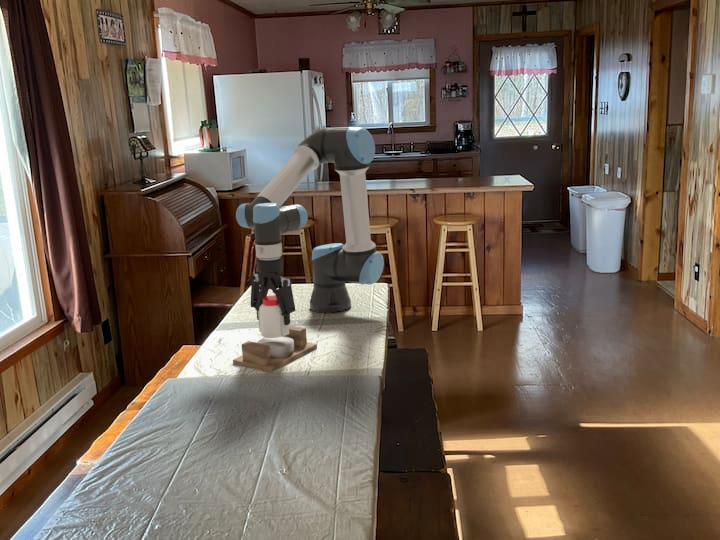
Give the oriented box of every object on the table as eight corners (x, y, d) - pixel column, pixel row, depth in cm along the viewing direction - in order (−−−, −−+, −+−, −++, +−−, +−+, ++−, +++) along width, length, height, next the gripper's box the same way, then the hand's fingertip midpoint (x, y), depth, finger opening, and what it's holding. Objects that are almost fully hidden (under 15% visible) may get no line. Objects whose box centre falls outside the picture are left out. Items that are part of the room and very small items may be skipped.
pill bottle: (289, 329, 204) (287, 294, 202) (284, 338, 197) (282, 301, 194) (264, 329, 205) (262, 294, 202) (258, 338, 198) (255, 301, 195)
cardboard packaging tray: (281, 340, 215) (280, 322, 214) (316, 347, 208) (315, 328, 206) (233, 363, 198) (231, 343, 196) (270, 372, 190) (268, 351, 189)
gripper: (233, 256, 198) (239, 331, 203) (289, 263, 187) (293, 342, 192) (251, 251, 204) (256, 324, 209) (305, 258, 193) (309, 334, 198)
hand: (274, 332), depth 201 cm, fingers closed on pill bottle, 8 cm apart
